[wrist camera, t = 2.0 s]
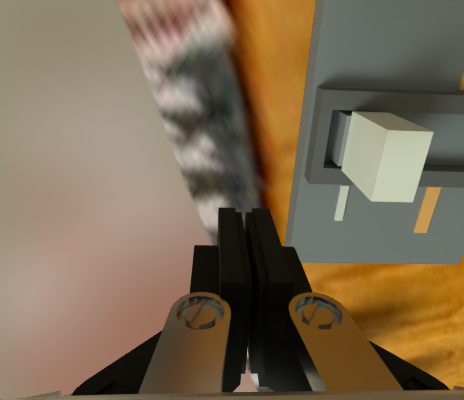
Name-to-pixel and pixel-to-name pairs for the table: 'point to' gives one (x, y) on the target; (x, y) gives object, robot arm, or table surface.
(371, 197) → the fader
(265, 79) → the table surface
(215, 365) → the robot arm
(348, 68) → the console
